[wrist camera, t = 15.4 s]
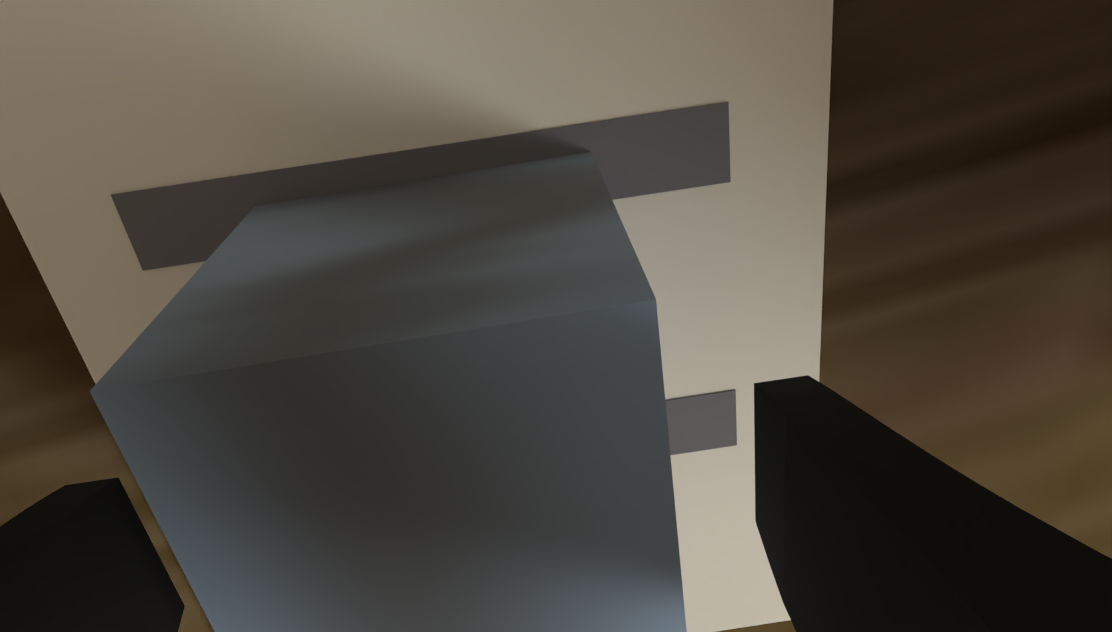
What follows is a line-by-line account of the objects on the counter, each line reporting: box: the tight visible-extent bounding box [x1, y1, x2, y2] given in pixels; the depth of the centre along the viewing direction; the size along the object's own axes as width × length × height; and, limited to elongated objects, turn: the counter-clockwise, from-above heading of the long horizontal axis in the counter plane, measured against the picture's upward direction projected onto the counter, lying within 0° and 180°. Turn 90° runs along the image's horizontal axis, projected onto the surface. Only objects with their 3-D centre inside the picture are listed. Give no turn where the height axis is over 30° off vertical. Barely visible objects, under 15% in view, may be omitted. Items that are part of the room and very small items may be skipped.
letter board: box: [0, 0, 833, 632], centre depth 12 cm, size 12×16×1 cm
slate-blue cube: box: [90, 152, 687, 632], centre depth 10 cm, size 5×5×5 cm
